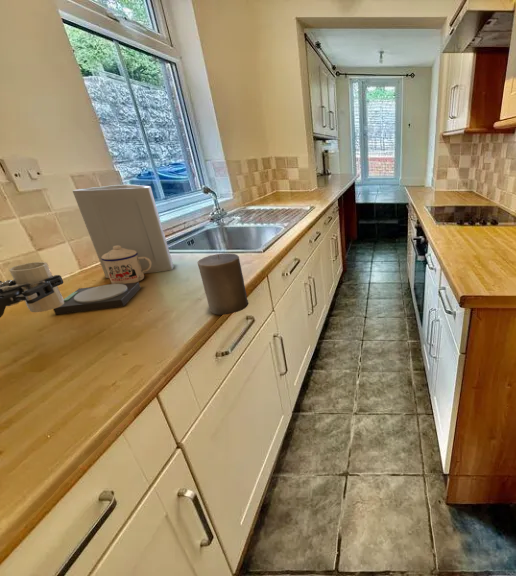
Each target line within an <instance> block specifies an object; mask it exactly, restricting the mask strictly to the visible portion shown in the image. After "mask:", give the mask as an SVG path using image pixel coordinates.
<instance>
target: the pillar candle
mask: <svg viewBox="0 0 516 576" xmlns="http://www.w3.org/2000/svg"><path fill="white" fill-rule="evenodd" d="M197 266H198V270H199V274H200V277H201V281H202V286H203V290H204V294H205V297H206V300H207V305H208V308H209V309H208V310H209V311H210V312H211V313H212V314H214V315H217V316H223V315H231V314H234V313H235V314H236V313H238V312H241V311H243V310H244V309H246V308H247V307H248V306H249V300H248V294H247V291H246V285H245V281H244V280H245V279H244V276H243V270H242V265H241V261H240V257H239V255H238V254H235V253H224V252H223V253H216V254H211V255H207V256H204V257H202V258H200V259H199V260H198V261H197Z"/></svg>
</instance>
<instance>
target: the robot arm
mask: <svg viewBox="0 0 516 576" xmlns="http://www.w3.org/2000/svg"><path fill="white" fill-rule="evenodd" d="M63 284H64V280H63V277H62V276H61V275H60V274H55V275H53V276H52V277H49V278H47V279H44V280H41V281H38V282H34V283H27V282H25V283H21V284H17V285H16V283H15V281H14V279H6V280H4V281H2V280H0V318H2V317H3V315H4V314H5V311H6V307H12V306H15V305H19V303H21V302H25V300H26V302H27V304H32V303H34V302H36V301H38V300H40V299H42V298H44V297H46V296H48V295H50V294H52V293H54V290H53V288H54V287H56V286H58V287H59V286H60V285H63ZM33 286H35V287H33ZM21 287H25V288H26V290H25V291H23V289H22V288H21Z"/></svg>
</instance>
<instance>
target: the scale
mask: <svg viewBox="0 0 516 576" xmlns="http://www.w3.org/2000/svg"><path fill="white" fill-rule="evenodd" d="M141 289H142V288H141V285H140V281H139V282H136V283H126V284H112V283H111V284H103V285H99V286H89V287H80V288H78V289H76V290H75V291H74V292H71V293H70V294H69V295H67V296H66V297H64V298H63V299H64V304H63V305H62V306H60V307H58V308H55V309H52V310H53V312H54V314H55V315H64V314H72V313H81V312H89V311H96V310H105V309H113V308H121V307H125V306H126V305H127V304H128V303H129V301H130V300H131V299H132V298H133V297H134V296H135V295H136V294H137V293H138V292H139V291H140V290H141Z"/></svg>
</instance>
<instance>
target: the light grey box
mask: <svg viewBox="0 0 516 576" xmlns="http://www.w3.org/2000/svg"><path fill="white" fill-rule="evenodd" d="M72 194H73V196H74V198H75V202H76V204H77V207H78V209H79V211H80V214H81V216H82V220H83V222H84V224H85V227H86V230H87V233H88V235H89V237H90V240H91V242H92V245H93V247H94V250H95V252H96V256H97V258H98V261H99V263H100V266H101V269H102V271H103V274H104V277H105V278H106V279H110V277H109V275H108V272H107V270H106V267H105V264H104V262H103V260H102V259H101V257H102V255H104V254H106V253H108V252H109V251H111V250H113V246H117V245H119V246H121V248H125V249H128V250H135V251H136V252H137V253H138V254H137V256H138V257H147V258H149V259H150V260H151V268H150V269H149V270H148V271H146V272H143V274H151V273H158V272H164V271H165V272H166V271H172V270H173V269H174V262H173V260H172V255H171V253H170V249H169V245H168V242H167V239H166V235H165V232H164V228H163V224H162V221H161V217H160V214H159V210H158V207H157V204H156V200H155V196H154V194H153V190H152V186H151V185H140V184H130V183H129V184H128V183H127V184H113V185H105V186H95V187H85V188H77V189H73V190H72ZM139 262H140V265H141V268H142V270H143V269H146V268H148V266H149V263H148V261H147V260H144V259H140V260H139Z"/></svg>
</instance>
